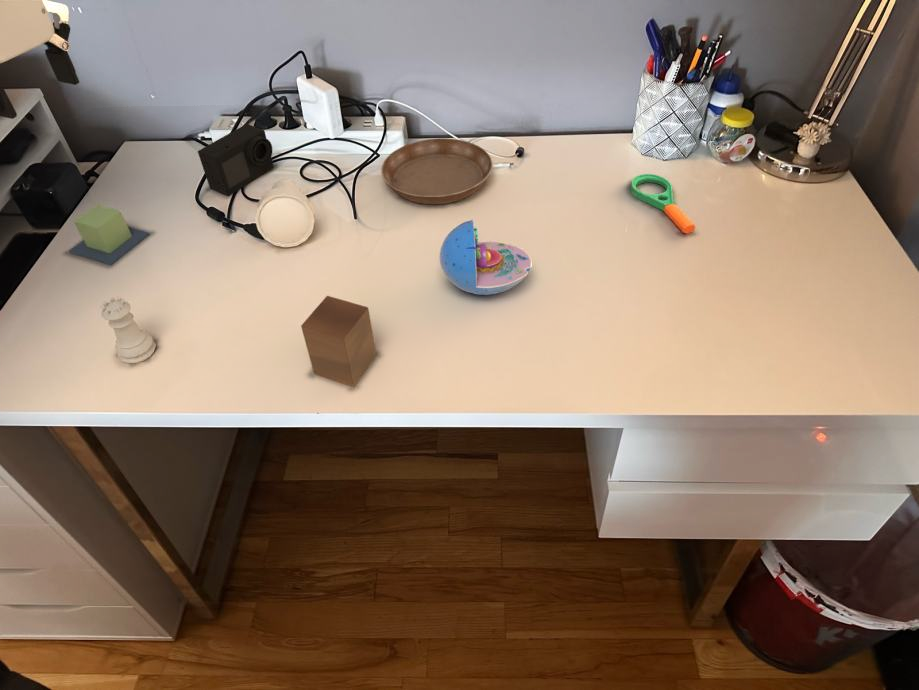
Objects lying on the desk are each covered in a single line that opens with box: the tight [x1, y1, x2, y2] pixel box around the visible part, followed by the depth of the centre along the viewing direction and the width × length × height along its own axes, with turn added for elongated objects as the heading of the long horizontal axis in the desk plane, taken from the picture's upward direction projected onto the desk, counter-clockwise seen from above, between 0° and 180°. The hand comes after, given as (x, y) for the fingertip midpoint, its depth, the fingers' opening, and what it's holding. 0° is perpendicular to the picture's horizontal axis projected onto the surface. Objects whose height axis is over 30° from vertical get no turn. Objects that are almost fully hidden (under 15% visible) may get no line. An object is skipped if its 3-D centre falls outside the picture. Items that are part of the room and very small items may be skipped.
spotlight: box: [254, 179, 315, 248], centre depth 99 cm, size 8×11×8 cm
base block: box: [300, 295, 377, 388], centre depth 78 cm, size 6×6×8 cm
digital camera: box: [197, 123, 275, 197], centre depth 108 cm, size 10×5×7 cm, turn 146°
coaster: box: [68, 226, 151, 266], centre depth 99 cm, size 8×8×1 cm
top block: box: [73, 204, 132, 253], centre depth 97 cm, size 4×4×4 cm
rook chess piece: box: [100, 296, 157, 365], centre depth 80 cm, size 4×4×8 cm
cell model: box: [439, 219, 533, 296], centre depth 87 cm, size 10×12×10 cm
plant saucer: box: [380, 137, 493, 205], centre depth 108 cm, size 18×18×3 cm
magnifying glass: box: [630, 173, 696, 234], centre depth 101 cm, size 15×6×2 cm, turn 15°
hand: (39, 98), depth 83 cm, fingers open, 9 cm apart
